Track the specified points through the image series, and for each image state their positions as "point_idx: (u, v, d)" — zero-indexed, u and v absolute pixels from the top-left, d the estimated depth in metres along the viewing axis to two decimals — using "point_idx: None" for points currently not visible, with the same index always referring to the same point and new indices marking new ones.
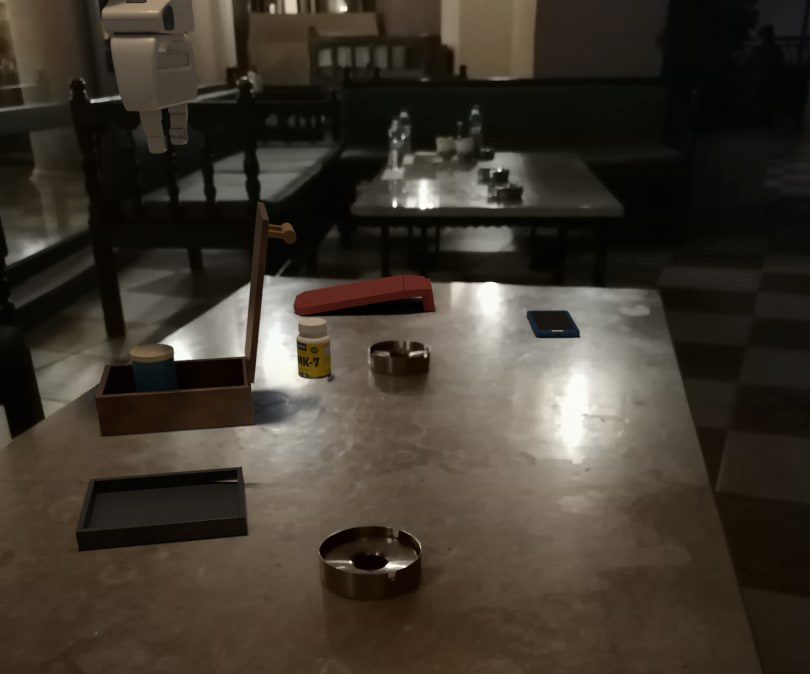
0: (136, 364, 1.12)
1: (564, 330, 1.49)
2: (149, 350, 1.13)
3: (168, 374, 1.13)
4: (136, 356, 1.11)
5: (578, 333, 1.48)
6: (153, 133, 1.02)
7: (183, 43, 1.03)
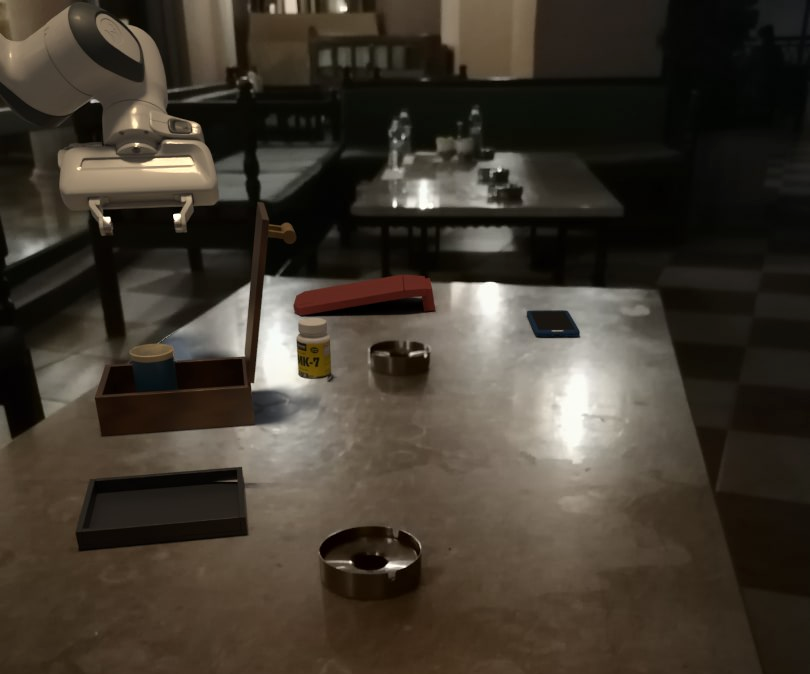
0: (136, 364, 1.12)
1: (564, 330, 1.49)
2: (149, 350, 1.13)
3: (168, 374, 1.13)
4: (136, 356, 1.11)
5: (578, 333, 1.48)
6: (187, 215, 1.19)
7: None
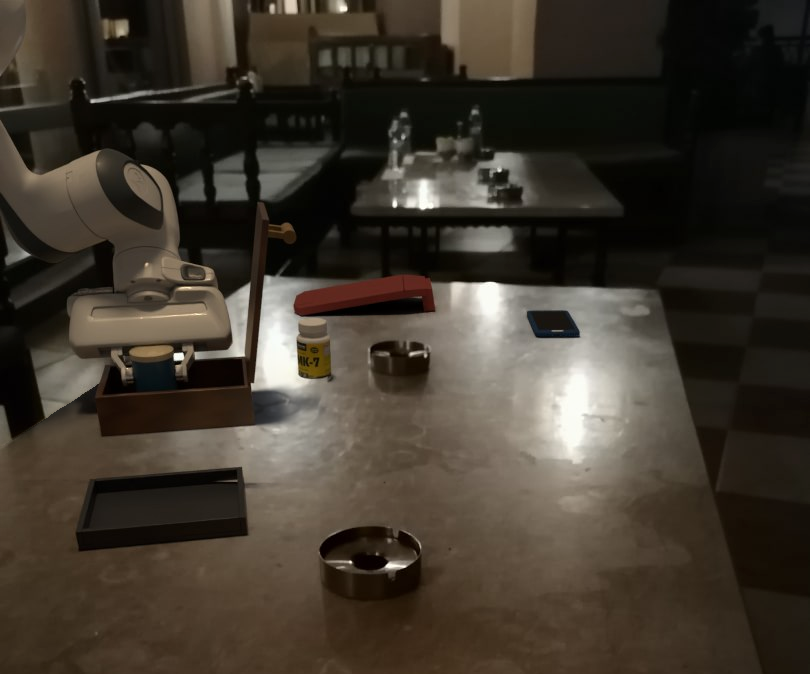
0: (135, 365, 1.12)
1: (564, 330, 1.49)
2: (149, 350, 1.13)
3: (168, 374, 1.13)
4: (136, 356, 1.11)
5: (578, 333, 1.48)
6: (189, 364, 1.16)
7: None
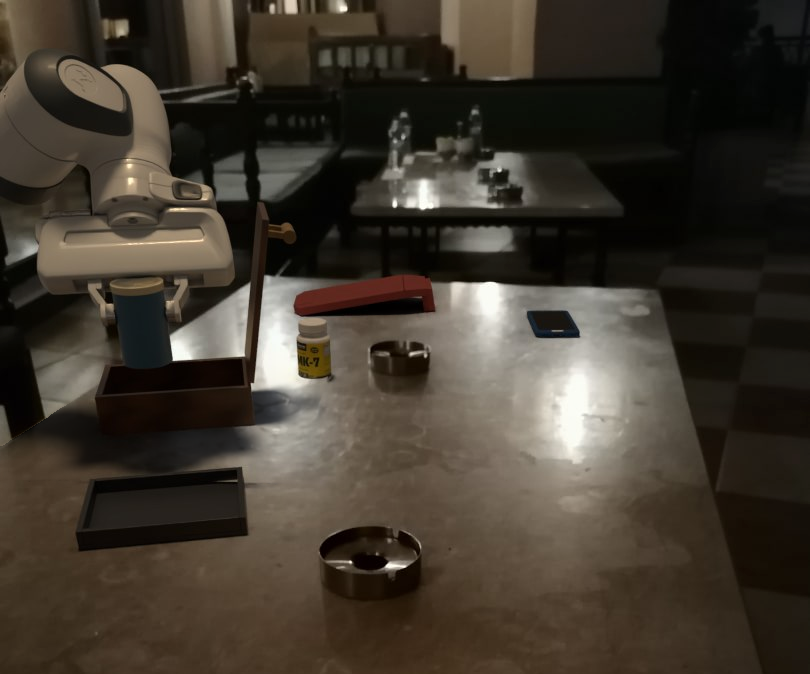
0: (117, 299, 0.92)
1: (564, 330, 1.49)
2: (133, 282, 0.93)
3: (157, 311, 0.94)
4: (117, 288, 0.92)
5: (578, 333, 1.48)
6: (182, 301, 0.96)
7: None
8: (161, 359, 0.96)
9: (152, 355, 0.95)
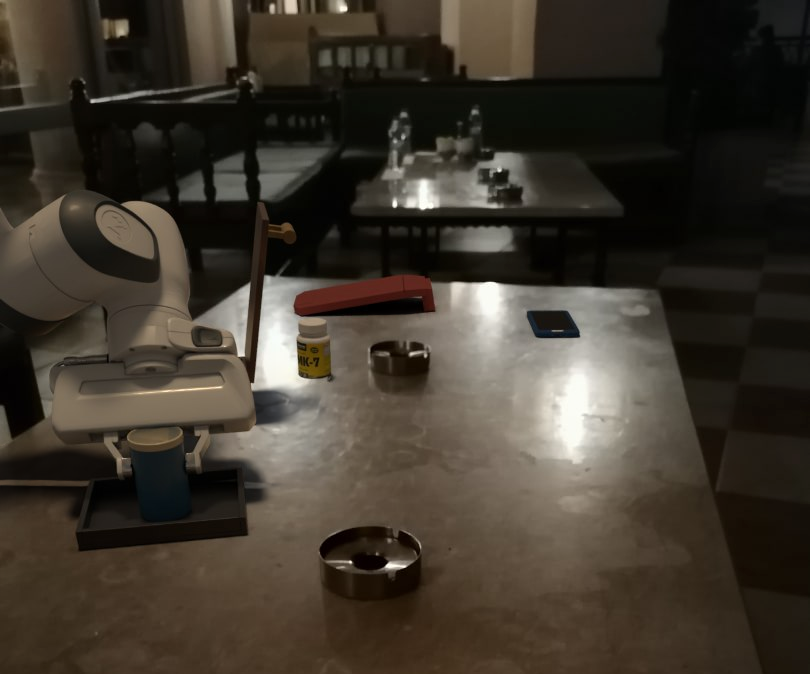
0: (135, 454, 0.89)
1: (564, 330, 1.49)
2: (152, 435, 0.90)
3: (176, 465, 0.90)
4: (135, 444, 0.88)
5: (578, 333, 1.48)
6: (202, 452, 0.93)
7: None
8: (180, 511, 0.92)
9: (171, 508, 0.91)
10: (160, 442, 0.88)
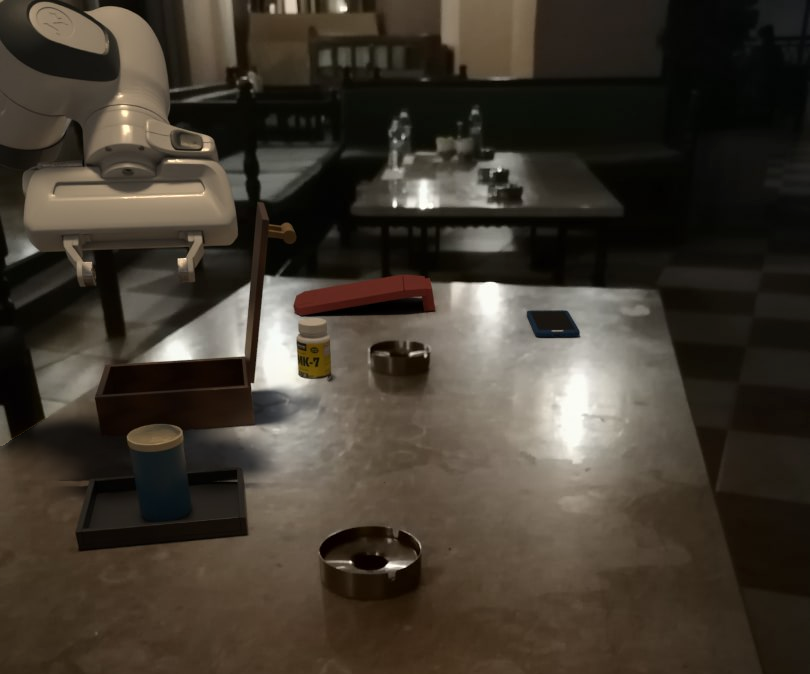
0: (135, 454, 0.89)
1: (564, 330, 1.49)
2: (152, 435, 0.90)
3: (176, 465, 0.90)
4: (135, 444, 0.88)
5: (578, 333, 1.48)
6: (196, 259, 0.89)
7: None
8: (180, 511, 0.92)
9: (171, 508, 0.91)
10: (160, 442, 0.88)
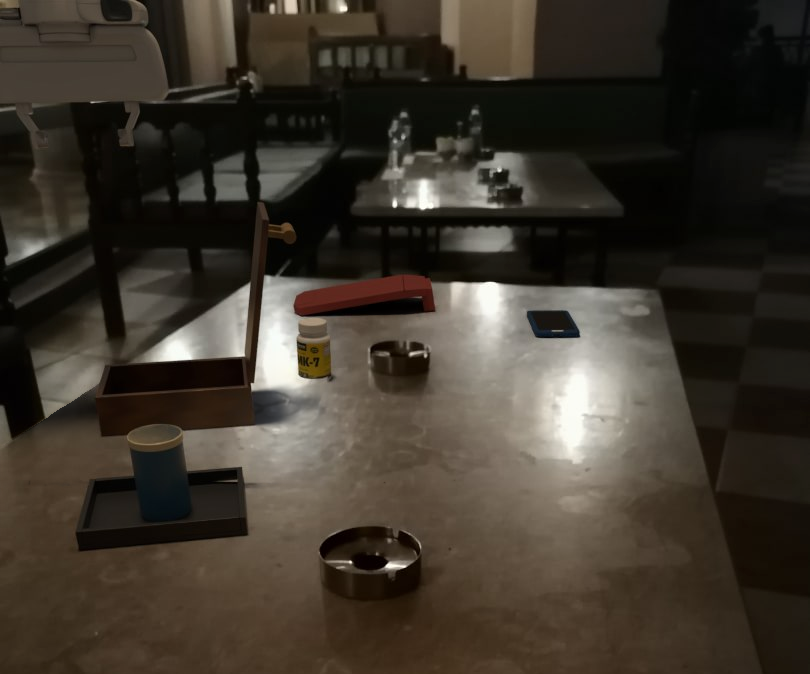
0: (135, 454, 0.89)
1: (564, 330, 1.49)
2: (152, 435, 0.90)
3: (176, 465, 0.90)
4: (135, 444, 0.88)
5: (578, 333, 1.48)
6: (133, 125, 1.04)
7: None
8: (180, 511, 0.92)
9: (171, 508, 0.91)
10: (160, 442, 0.88)
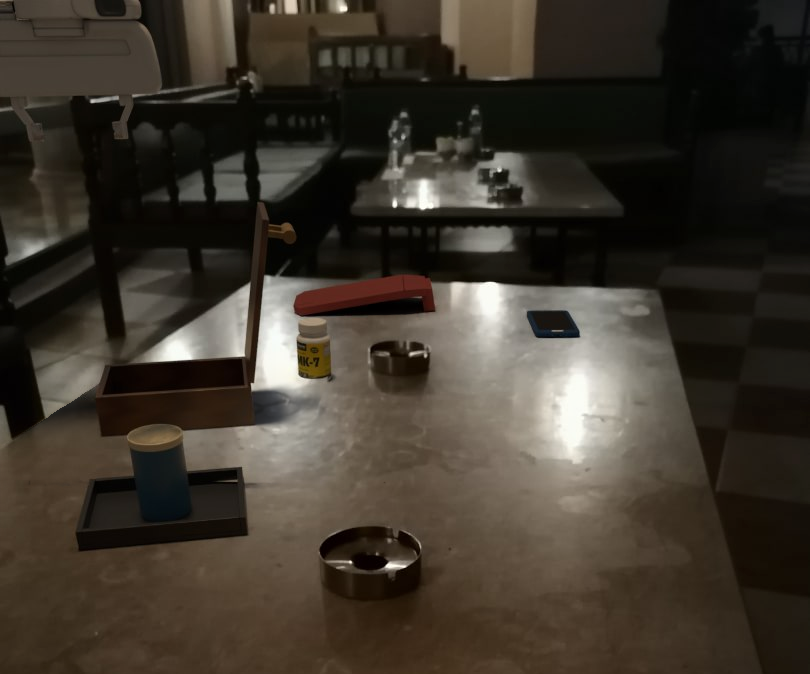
0: (135, 454, 0.89)
1: (564, 330, 1.49)
2: (152, 435, 0.90)
3: (176, 465, 0.90)
4: (135, 444, 0.88)
5: (578, 333, 1.48)
6: (127, 118, 1.05)
7: None
8: (180, 511, 0.92)
9: (171, 508, 0.91)
10: (160, 442, 0.88)
